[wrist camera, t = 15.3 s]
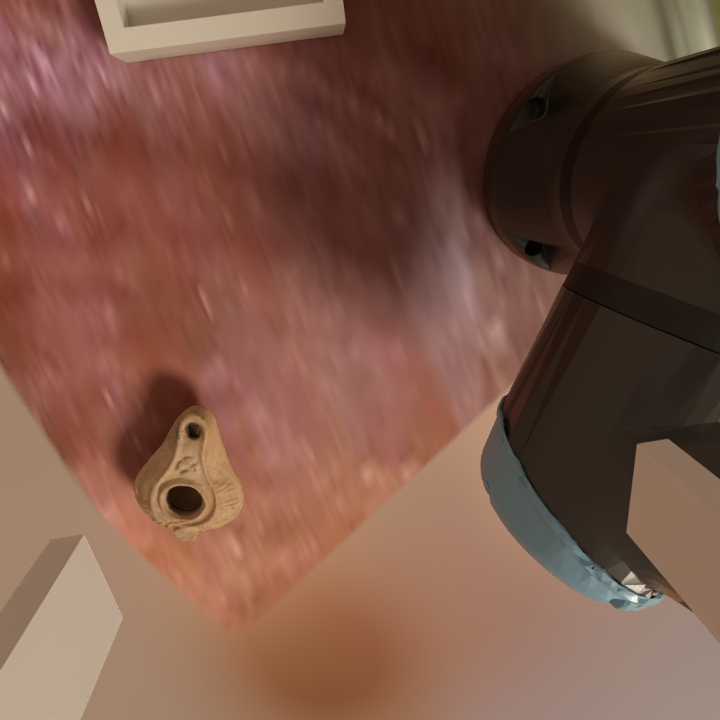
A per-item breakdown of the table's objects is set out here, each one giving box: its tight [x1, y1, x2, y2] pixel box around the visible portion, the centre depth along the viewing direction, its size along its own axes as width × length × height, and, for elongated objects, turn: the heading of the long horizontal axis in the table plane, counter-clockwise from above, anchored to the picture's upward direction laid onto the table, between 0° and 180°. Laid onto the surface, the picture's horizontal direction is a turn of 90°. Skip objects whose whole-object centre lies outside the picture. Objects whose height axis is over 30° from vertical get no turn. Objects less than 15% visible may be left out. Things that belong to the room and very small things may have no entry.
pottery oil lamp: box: [134, 405, 244, 541], centre depth 40 cm, size 9×12×7 cm
